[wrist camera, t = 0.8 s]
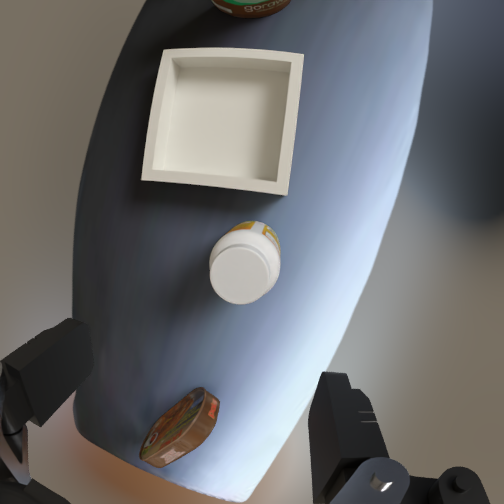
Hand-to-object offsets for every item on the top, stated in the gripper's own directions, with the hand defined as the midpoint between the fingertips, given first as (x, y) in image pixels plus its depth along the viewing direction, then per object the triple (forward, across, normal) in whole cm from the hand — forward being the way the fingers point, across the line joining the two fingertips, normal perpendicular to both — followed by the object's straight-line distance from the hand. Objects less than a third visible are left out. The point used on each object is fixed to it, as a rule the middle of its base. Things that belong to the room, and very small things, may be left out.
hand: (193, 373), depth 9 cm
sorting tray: (+20, +4, -12) cm, 24 cm away
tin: (+21, +6, +23) cm, 32 cm away
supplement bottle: (+21, 0, 0) cm, 21 cm away
